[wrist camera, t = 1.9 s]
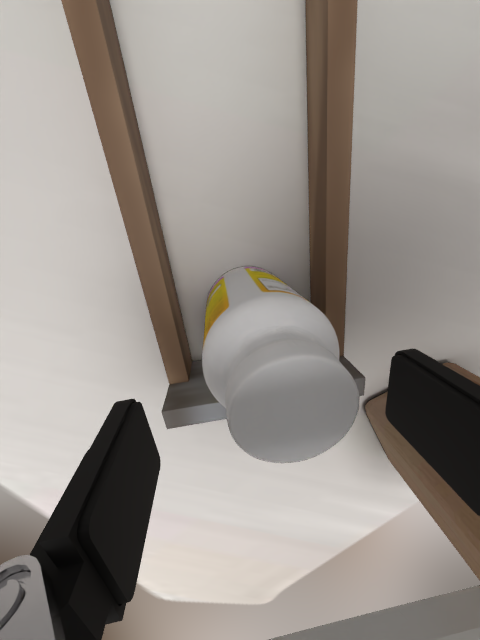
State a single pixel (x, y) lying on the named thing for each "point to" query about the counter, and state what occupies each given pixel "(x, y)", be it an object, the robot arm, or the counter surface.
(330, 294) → the shelf lane
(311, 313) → the supplement bottle
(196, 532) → the counter surface
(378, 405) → the block
